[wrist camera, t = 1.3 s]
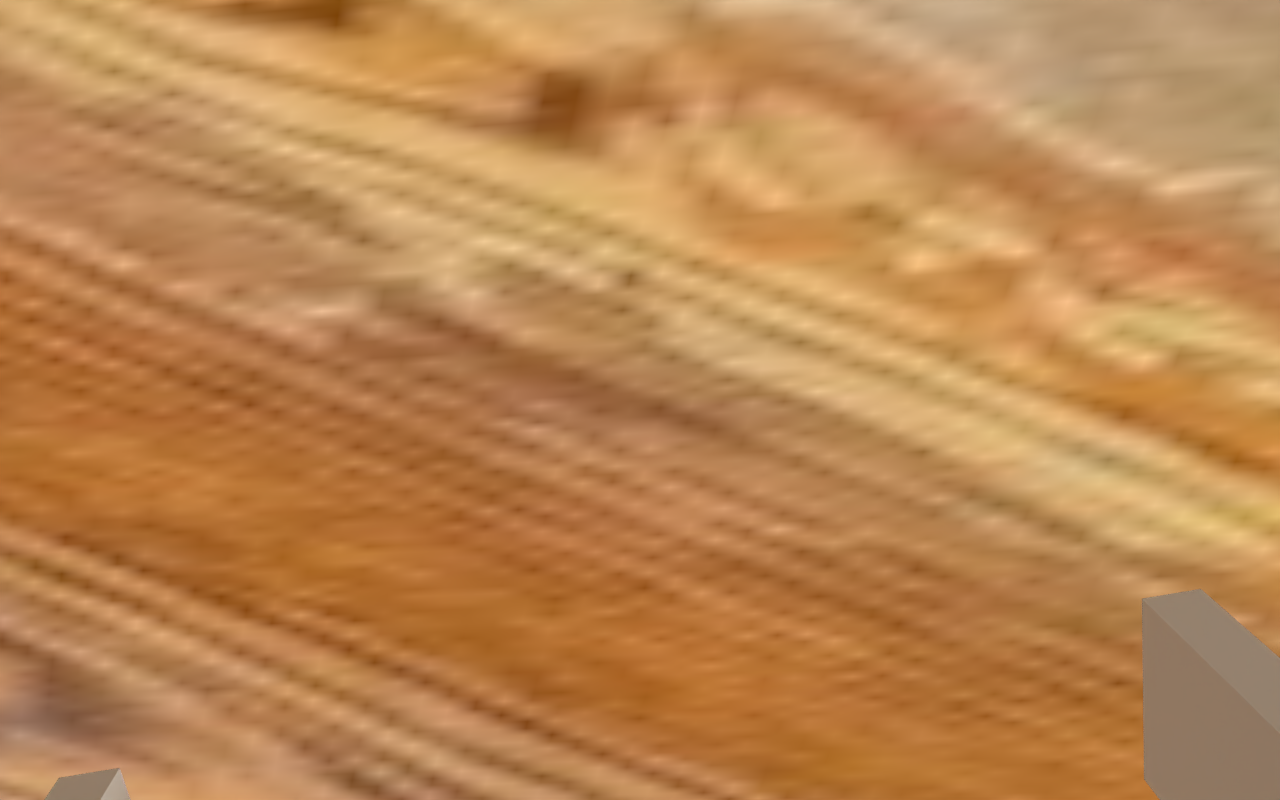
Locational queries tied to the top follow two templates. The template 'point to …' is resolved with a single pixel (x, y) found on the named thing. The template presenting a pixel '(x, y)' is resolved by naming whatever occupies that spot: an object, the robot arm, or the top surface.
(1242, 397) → the top surface
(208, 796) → the top surface
